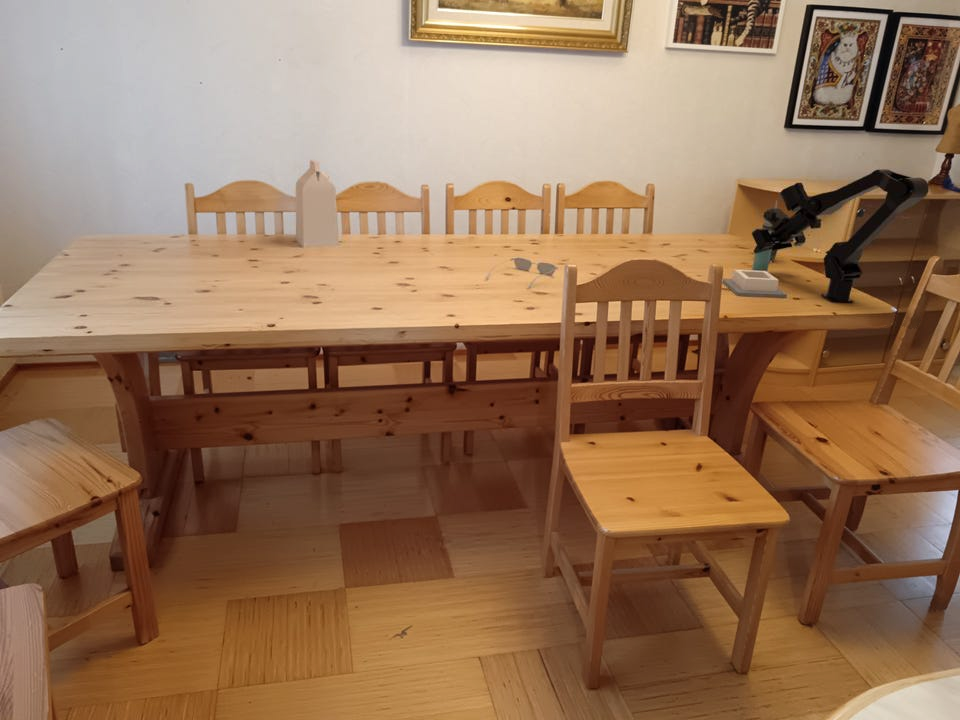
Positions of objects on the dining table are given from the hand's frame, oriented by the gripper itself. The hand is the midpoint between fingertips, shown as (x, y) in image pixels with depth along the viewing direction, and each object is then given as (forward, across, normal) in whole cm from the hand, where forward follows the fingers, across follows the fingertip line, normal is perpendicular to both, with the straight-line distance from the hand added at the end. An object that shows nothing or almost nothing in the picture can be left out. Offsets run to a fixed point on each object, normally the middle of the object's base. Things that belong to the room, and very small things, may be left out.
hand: (759, 251), depth 224 cm
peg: (+4, 0, +6) cm, 7 cm away
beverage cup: (+12, -16, -2) cm, 20 cm away
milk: (+59, +120, -49) cm, 142 cm away
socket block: (-5, +17, +15) cm, 23 cm away
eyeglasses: (+18, +76, -8) cm, 79 cm away
